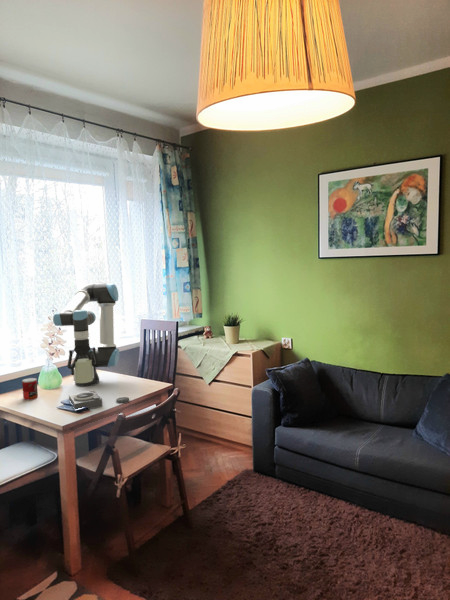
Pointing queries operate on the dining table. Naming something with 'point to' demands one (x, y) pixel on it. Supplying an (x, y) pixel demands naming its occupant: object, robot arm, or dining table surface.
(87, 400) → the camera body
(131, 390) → the dining table surface
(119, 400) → the lens cap
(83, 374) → the can
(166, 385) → the dining table surface
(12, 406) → the dining table surface
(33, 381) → the canned food
